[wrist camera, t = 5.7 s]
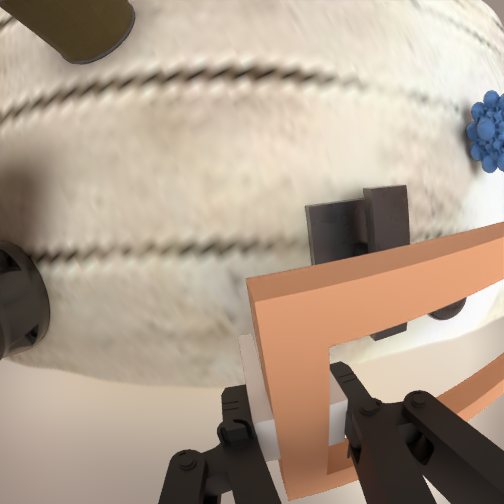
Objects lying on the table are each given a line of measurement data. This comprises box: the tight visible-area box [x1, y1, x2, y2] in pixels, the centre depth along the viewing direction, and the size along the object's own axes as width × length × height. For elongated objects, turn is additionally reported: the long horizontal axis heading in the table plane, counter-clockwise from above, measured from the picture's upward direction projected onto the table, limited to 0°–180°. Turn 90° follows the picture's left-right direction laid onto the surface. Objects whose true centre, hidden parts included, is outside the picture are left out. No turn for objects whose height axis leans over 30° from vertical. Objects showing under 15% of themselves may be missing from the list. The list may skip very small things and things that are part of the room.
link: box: [246, 222, 504, 501], centre depth 11 cm, size 28×12×2 cm, turn 99°
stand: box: [305, 185, 467, 341], centre depth 24 cm, size 12×15×17 cm
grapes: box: [466, 90, 504, 173], centre depth 24 cm, size 12×7×12 cm, turn 6°
